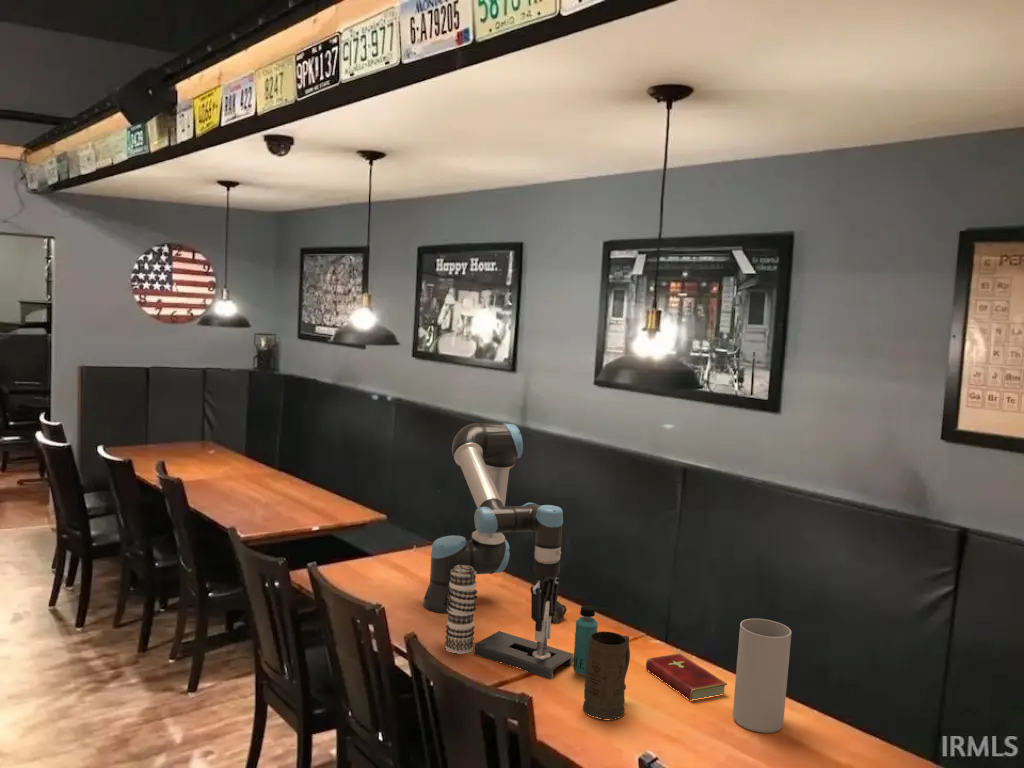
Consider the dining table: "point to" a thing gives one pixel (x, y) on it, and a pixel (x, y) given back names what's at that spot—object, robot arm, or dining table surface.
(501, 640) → the keyhole plate
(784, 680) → the cylinder vase
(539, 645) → the steel peg
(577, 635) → the beverage bottle
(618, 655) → the beer stein
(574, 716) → the dining table surface
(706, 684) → the hardcover book
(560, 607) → the fossil
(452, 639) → the decorative candle
